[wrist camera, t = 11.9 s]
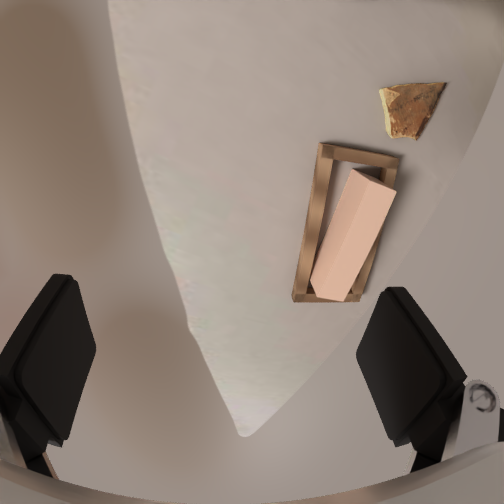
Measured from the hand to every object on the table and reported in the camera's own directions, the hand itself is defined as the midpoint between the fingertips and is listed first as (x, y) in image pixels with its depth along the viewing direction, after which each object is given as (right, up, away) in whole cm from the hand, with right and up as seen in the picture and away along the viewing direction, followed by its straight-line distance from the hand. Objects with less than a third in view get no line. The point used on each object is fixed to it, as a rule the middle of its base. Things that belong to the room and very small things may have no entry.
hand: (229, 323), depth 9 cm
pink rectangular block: (+13, +5, +31) cm, 34 cm away
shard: (+20, +22, +23) cm, 38 cm away
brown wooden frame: (+13, +5, +31) cm, 34 cm away
